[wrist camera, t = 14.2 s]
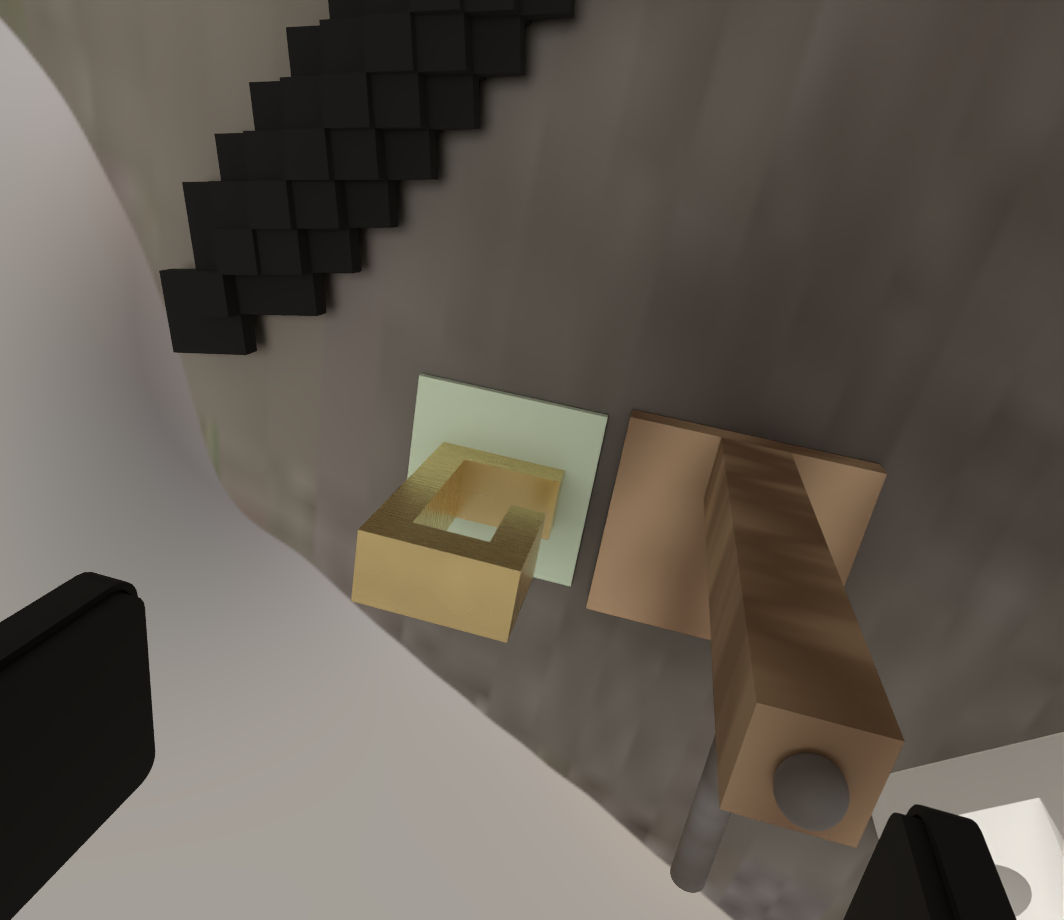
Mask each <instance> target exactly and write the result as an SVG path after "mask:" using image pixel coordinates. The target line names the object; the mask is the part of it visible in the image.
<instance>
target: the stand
mask: <svg viewBox="0 0 1064 920" xmlns="http://www.w3.org/2000/svg"><path fill="white" fill-rule="evenodd" d="M886 475H887V473H886V472H885V471H884V469H883V468H882V466H881V465H880V464H876V463H872V462H867V461H863V460H858V459H854V458H849V457H844V456H840V455H835V454H831V453H826V452H822V451H817V450H813V449H808V448H804V447H799V446H795V445H790V444H786V443H781V442H777V441H772V440H768V439H763V438H759V437H754V436H750V435H745V434H741V433H736V432H732V431H727V430H723V429H718V428H714V427H709V426H705V425H700V424H695V423H691V422H686V421H682V420H677V419H673V418H668V417H664V416H659V415H655V414H650V413H646V412H641V411H637V410H632V412H631V416H630V421H629V425H628V429H627V434H626V438H625V442H624V447H623V451H622V455H621V460H620V464H619V468H618V473H617V477H616V481H615V486H614V490H613V494H612V499H611V503H610V507H609V511H608V516H607V520H606V524H605V529H604V533H603V537H602V542H601V546H600V550H599V555H598V559H597V563H596V568H595V572H594V576H593V581H592V585H591V589H590V594H589V598H588V602H587V607H586V608H587V609H591V610H594V611H598V612H602V613H606V614H610V615H614V616H618V617H622V618H626V619H630V620H633V621H637V622H641V623H645V624H649V625H653V626H657V627H661V628H665V629H669V630H672V631H676V632H680V633H684V634H688V635H692V636H696V637H700V638H704V639H707V640H711V653H712V673H713V692H714V712H715V732H716V734H715V737H714V740H713V743H712V746H711V749H710V752H709V755H708V758H707V761H706V764H705V767H704V770H703V773H702V776H701V779H700V782H699V785H698V788H697V791H696V794H695V797H694V800H693V803H692V806H691V809H690V812H689V815H688V818H687V821H686V824H685V827H684V830H683V833H682V836H681V839H680V842H679V845H678V848H677V851H676V854H675V857H674V860H673V863H672V866H671V869H670V874H671V878H672V880H673V881H674V883H675V884H676V885H677V886H678V887H679V888H681V889H683V890H684V891H687V892H691V893H695V892H699V891H701V890H702V889H703V887H704V885H705V882H706V880H707V877H708V874H709V871H710V869H711V866H712V863H713V860H714V858H715V855H716V852H717V849H718V846H719V844H720V841H721V838H722V835H723V833H724V830H725V827H726V824H727V821H728V819H729V816H730V813H731V812H732V813H735V814H739V815H742V816H746V817H749V818H753V819H756V820H760V821H763V822H767V823H770V824H774V825H777V826H781V827H784V828H788V829H791V830H795V831H799V832H802V833H806V834H809V835H813V836H816V837H820V838H823V839H827V840H830V841H834V842H837V843H841V844H844V845H848V846H851V847H855V848H856V847H857V845H858V843H859V841H860V838H861V836H862V834H863V832H864V830H865V828H866V825H867V823H868V821H869V819H870V817H871V814H872V812H873V810H874V808H875V806H876V803H877V801H878V799H879V797H880V795H881V792H882V790H883V788H884V786H885V784H886V781H887V779H888V777H889V775H890V773H891V770H892V768H893V766H894V764H895V762H896V760H897V757H898V755H899V753H900V751H901V749H902V746H903V744H904V742H905V741H904V739H903V736H902V734H901V731H900V729H899V726H898V723H897V721H896V718H895V716H894V713H893V711H892V708H891V706H890V703H889V701H888V698H887V695H886V693H885V690H884V688H883V685H882V683H881V680H880V678H879V675H878V673H877V670H876V667H875V665H874V662H873V660H872V657H871V655H870V652H869V650H868V647H867V645H866V642H865V639H864V637H863V634H862V632H861V629H860V627H859V624H858V622H857V619H856V617H855V614H854V611H853V609H852V606H851V604H850V601H849V599H848V596H847V594H846V591H845V589H844V586H845V584H846V581H847V578H848V576H849V573H850V570H851V568H852V565H853V562H854V560H855V557H856V555H857V552H858V549H859V547H860V544H861V541H862V539H863V536H864V533H865V531H866V528H867V526H868V523H869V520H870V518H871V515H872V512H873V510H874V507H875V504H876V502H877V499H878V497H879V494H880V491H881V489H882V486H883V483H884V481H885V478H886Z"/></svg>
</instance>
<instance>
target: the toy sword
mask: <svg viewBox="0 0 1064 920" xmlns="http://www.w3.org/2000/svg"><path fill="white" fill-rule="evenodd" d="M328 3H329V14H330V19H327V20H319V21H320V26H303V27H286V32H287V42H288V51H289V60H290V69H291V77H280V81H271V82H249V85H250V93H251V101H252V109H253V117H254V125H255V131H243V133H228V134H215V140H216V147H217V154H218V161H219V168H220V175H221V181H208V182H182V184H183V190H184V197H185V203H186V209H187V215H188V222H189V228H190V234H191V241H192V247H193V253H194V259H195V266H196V269H167V270H161V271H159V272H160V277H161V283H162V289H163V294H164V300H165V306H166V311H167V317H168V323H169V328H170V334H171V340H172V346H173V351H174V352H177V353H205V354H234V355H247V354H250V353H253V352H255V351H257V348H256V340H255V333H254V326H253V319H252V314H257V315H299V316H318V315H321V314H324V313H326V304H325V294H324V284H323V275H322V273H355V272H359V271H361V260H360V248H359V237H358V228H391V227H399V225H398V210H397V195H396V180H424V179H438V166H437V145H436V132H443V130H460V129H480V101H479V80H485V77H492V76H518V75H525V25H530V20H537V19H557V18H574V0H328Z"/></svg>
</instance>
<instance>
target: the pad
mask: <svg viewBox="0 0 1064 920" xmlns="http://www.w3.org/2000/svg"><path fill="white" fill-rule="evenodd" d="M607 419H608V415H606V414H602V413H597V412H593V411H588V410H584V409H579V408H575V407H570V406H566V405H561V404H557V403H552V402H548V401H543V400H539V399H535V398H530V397H526V396H521V395H517V394H512V393H508V392H503V391H499V390H494V389H490V388H485V387H481V386H476V385H472V384H467V383H463V382H458V381H454V380H449V379H445V378H440V377H436V376H431V375H427V374H423V373H422V374H421V375H419V382H418V391H417V399H416V408H415V416H414V425H413V434H412V442H411V451H410V459H409V468H408V477H407V479H408V478H409V477H410V476H411V475H412V474H413V473H414V472H415V471H416V470H417V469H418V468H419V467H420V466H421V465H422V463H423V462H424V461H425V460H426V459H427V458H428V457H429V456H430V455H431V454H432V453H433V452H434V451H435V450H436V449H437V448H438V447H439V446H440V445H441V444H442V443H443V442H447V443H451V444H455V445H459V446H464V447H468V448H472V449H476V450H480V451H485V452H489V453H493V454H497V455H502V456H506V457H510V458H514V459H518V460H523V461H527V462H531V463H535V464H539V465H544V466H548V467H552V468H556V469H560V470H565V473H564V478H563V482H562V487H561V492H560V497H559V502H558V507H557V512H556V516H555V521H554V526H553V529H552V531H551V534H550V536H549V539H548V540H545V539H541V542H540V547H539V552H538V557H537V562H536V567H535V572H534V576H533V577H535V578H539V579H543V580H547V581H551V582H555V583H559V584H562V585H566V586H570V587H571V583H572V579H573V574H574V570H575V565H576V561H577V556H578V551H579V547H580V542H581V538H582V533H583V529H584V524H585V520H586V515H587V510H588V506H589V501H590V497H591V492H592V488H593V483H594V479H595V474H596V469H597V465H598V460H599V456H600V451H601V447H602V442H603V437H604V433H605V428H606V424H607ZM496 530H497V527H493V526H489V525H485V524H481V523H477V522H473V521H469V520H465V519H461V518H457V517H456V518H455V519H454V521H453V522H452V524H451V525H450V526H449V528H448V529H447V531H448V532H452V533H456V534H460V535H464V536H468V537H472V538H476V539H480V540H484V541H488V542H490V541H491V539H492V537H493V535H494V534H495V532H496Z"/></svg>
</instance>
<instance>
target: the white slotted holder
mask: <svg viewBox="0 0 1064 920" xmlns="http://www.w3.org/2000/svg"><path fill="white" fill-rule="evenodd" d="M915 804H919V805H923V806H927V807H930V808H934V809H937V810H941V811H945V812H948V813H952V814H955V815H959V816H962V817H966V818H970V819H972V820H973V821H975V822H976V823H977V824H978V826H979V828H980V830H981V831H982V834H983V836H984V839H985V841H986V844H987V846H988V849H989V851H990V854H991V856H992V859H993V861H994V864H995V866H996V869H997V871H998V874H999V876H1000V879H1001V881H1002V884H1003V887H1004V889H1005V892H1006V894H1007V897H1008V899H1009V902H1010V904H1011V907H1012V909H1013V912H1014V914H1015V917H1016V919H1017V920H1064V732H1061V733H1057V734H1053V735H1049V736H1044V737H1040V738H1036V739H1032V740H1028V741H1023V742H1019V743H1015V744H1011V745H1007V746H1003V747H998V748H994V749H990V750H986V751H982V752H977V753H973V754H969V755H965V756H961V757H956V758H952V759H948V760H944V761H940V762H935V763H931V764H927V765H923V766H919V767H915V768H910V769H906V770H902V771H898V772H894V773H890V775H889V777H888V779H887V781H886V784H885V786H884V788H883V790H882V792H881V795H880V797H879V799H878V801H877V803H876V806H875V808H874V810H873V812H872V814H871V815H872V818H873V821H874V825H875V828H876V832H877V835H878V838H879V839H880V836H881V834H882V832H883V830H884V827H885V825H886V823H887V821H888V819H889V817H890V816H891V815H892V814H893V813H894V812H895V813H900V814H904V815H906V814H907V812H908V810H909V809H910V808H911V807H912V806H913V805H915Z"/></svg>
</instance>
